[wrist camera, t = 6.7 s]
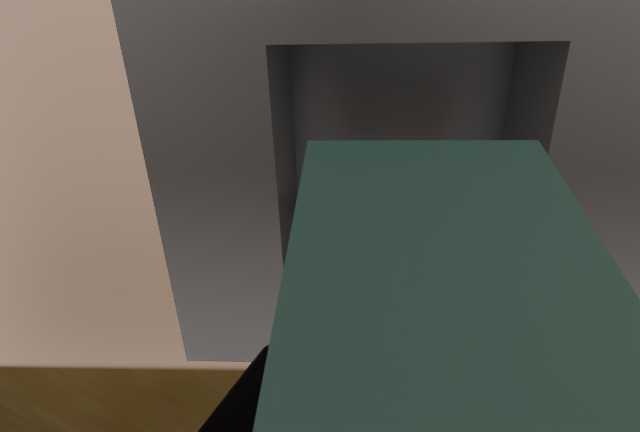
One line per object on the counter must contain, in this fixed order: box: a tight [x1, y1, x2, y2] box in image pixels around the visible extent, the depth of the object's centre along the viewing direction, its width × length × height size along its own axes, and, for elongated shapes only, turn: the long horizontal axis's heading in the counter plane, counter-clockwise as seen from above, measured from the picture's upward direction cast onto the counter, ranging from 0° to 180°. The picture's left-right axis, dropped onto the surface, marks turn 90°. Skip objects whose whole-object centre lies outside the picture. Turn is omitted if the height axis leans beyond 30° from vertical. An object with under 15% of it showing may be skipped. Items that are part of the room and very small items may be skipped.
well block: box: [111, 0, 640, 362], centre depth 15 cm, size 12×12×4 cm
